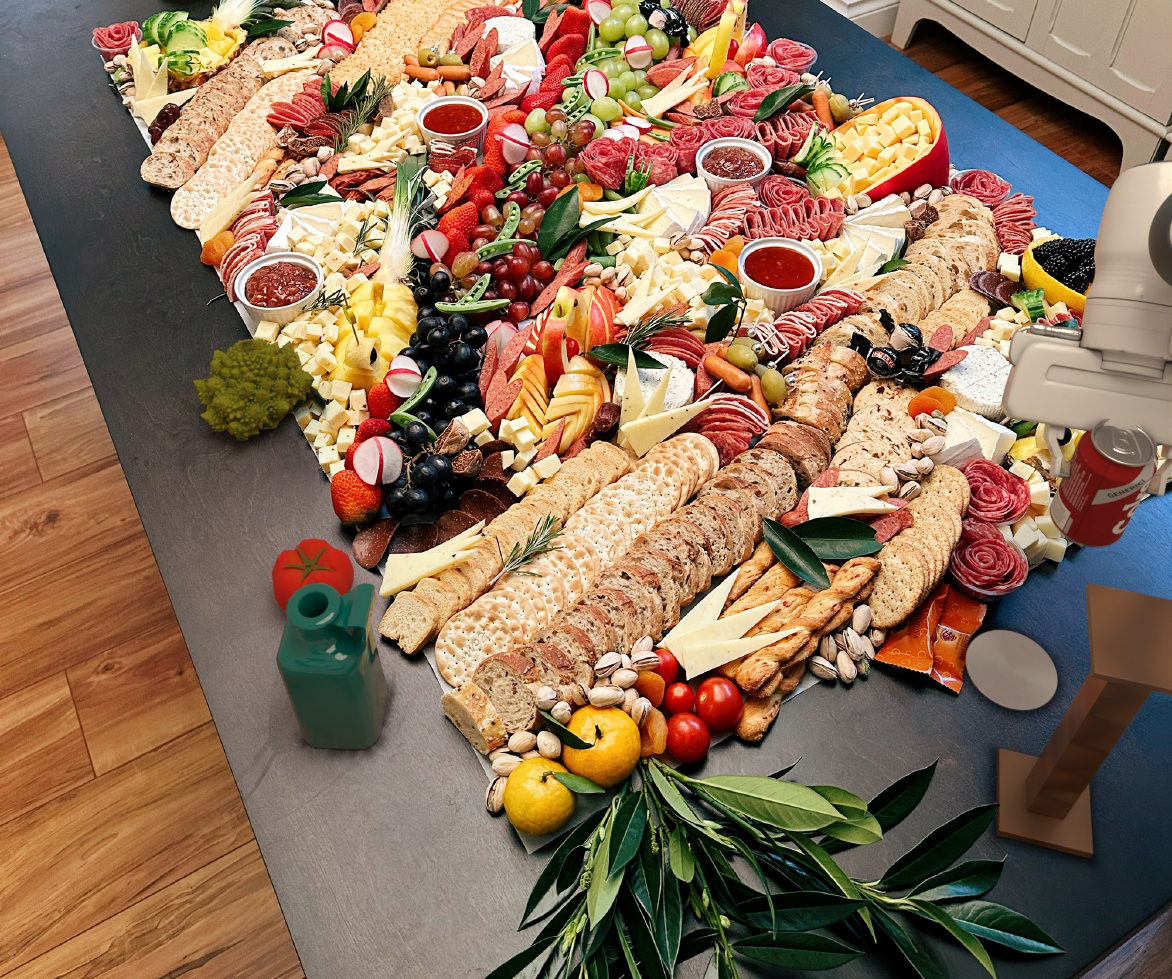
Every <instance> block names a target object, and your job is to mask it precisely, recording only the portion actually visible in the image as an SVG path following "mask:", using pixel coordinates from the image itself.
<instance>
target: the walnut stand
mask: <svg viewBox="0 0 1172 979" xmlns="http://www.w3.org/2000/svg"><path fill="white" fill-rule="evenodd" d="M1085 595H1086V598H1085V599H1086V611H1087V627H1088V641H1089V656H1090V671H1089V673H1088V675H1087V677H1086V678H1085V679H1084V681H1083V683H1082V684H1081V686H1080V688H1079V689H1078V691H1077V693H1076V695H1075V696H1074V698H1073V700H1072V701H1071V703H1070V705H1069V707H1068V708H1067V710H1066V712H1065V713H1064V715H1063V717H1062V718H1061V719H1060V722H1059V723H1058V724H1057V726H1056V728H1055V730H1054V731H1053V733H1052V734H1051V737H1050V738H1049V740H1048V741H1047V743H1046V745H1045V746H1044V748H1043V749H1042V752H1041V753H1040V754H1039V756H1035V755H1030V754H1026V753H1022V752H1019V751H1013V750H1009V749H1005V748H1001V747H999V749H998V750H997V752H996V804H997V803H998V804H1000V807H998V811H997V810H996V836H999V837H1001V838H1007V839H1010V840H1013V841H1014V840H1015V841H1017V842H1018V841H1019V842H1021V843H1026V844H1030V845H1035V846H1038V847H1043V848H1046V849H1050V850H1054V851H1058V852H1061V853H1062V852H1063V853H1065V854H1070V855H1074V856H1079V857H1082V858H1085V859H1086V858H1087V859H1091V858H1092V856H1093V855H1094V843H1093V842H1094V841H1093V827H1092V826H1093V825H1092V824H1093V823H1092V810H1091V809H1092V808H1091V807H1092V806H1091V791H1090V782H1091V781H1092V780H1093V779H1094V777H1095V775H1096V774H1097V772H1098V771H1099V769H1100V768H1101V766H1102V765H1103V764H1104V762H1105V761H1106V759H1107V758H1108V757H1109V755H1110V754H1111V752H1112V751H1113V750H1114V748H1115V747H1116V745H1117V743H1118V742H1119V741H1120V739H1121V737H1122V736H1123V735H1124V733H1125V732H1126V731H1127V729H1128V727H1129V726H1130V725H1131V723H1132V722H1133V720H1134V718H1135V717H1136V716H1137V714H1138V713H1139V711H1140V710H1141V708H1142V707H1143V705H1144V704H1145V702H1146V701H1147V700H1148V698H1149V697H1150V695H1151V694H1152V692H1155V693H1161V694H1165V695H1170V696H1172V599H1170V598H1165V597H1160V596H1155V595H1151V594H1146V593H1140V592H1136V591H1132V590H1127V589H1126V590H1125V589H1121V588H1116V587H1112V586H1106V585H1102V584H1098V583H1097V584H1096V583H1092V582H1088V583H1087V585H1086V586H1085Z"/></svg>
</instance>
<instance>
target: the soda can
mask: <svg viewBox="0 0 1172 979" xmlns="http://www.w3.org/2000/svg"><path fill="white" fill-rule="evenodd" d="M1108 420H1111V419H1105V420H1102V421H1100V422H1098V423H1097V424H1096V425H1095V426H1094V428H1093V430H1091V431H1084V433H1082V435H1081V436H1080V438H1079V440H1078V442H1077V444H1076V447H1075V449H1074V451H1073V453H1072V456H1071V458H1070V460H1072V468H1071V469H1070V472H1071V474H1070V478H1069V479H1065V478H1061V480H1060V482H1059V484H1058V487H1057V489H1056V491H1055V493H1054V496H1053V497H1052V499H1051V502H1050V505H1049V516H1050V519H1051V521H1052V523H1053V525H1054V527H1055V528H1056V529H1057V530H1058V532H1060V534H1062V535H1063V536H1064V537H1065V538H1066V539H1068V540H1070V541H1071V542H1074V543H1075V544H1078V545H1081V546H1083V547H1088V548H1107V547H1109V546H1112V545H1114V544H1116V543H1117V542H1118V541H1119V540H1120V539H1121V538H1122V536H1123V535H1124V533H1125V531H1126V529H1127V528H1128V525H1129V524H1130V522H1131V520H1132V518H1133V516H1134V514H1135V512H1136V511H1137V508H1138V507H1139V505H1140V503H1141V501H1142V499H1143V498H1144V496H1145V494H1146V493H1145V492H1146V490H1147V488H1148V486H1149V484H1150V483H1151V481H1152V479H1153V477H1154V475H1155V473H1156V471H1157V470H1158V469H1159V459H1158V456H1157V453H1158V444H1156V441H1155V439H1154V438H1153V436H1152V435H1151V434H1150V433H1149V432H1148V431H1147V430H1146V429H1144V428H1143V427H1142V426H1140V425H1138V424H1135V425H1136V426H1137V427H1138V429H1137V430H1138V431H1136V430H1131V429H1127V430H1122V429H1117V428H1116V427H1114V426H1108V425H1105V426H1104V424H1105V422H1106V421H1108Z"/></svg>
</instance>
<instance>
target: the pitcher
mask: <svg viewBox="0 0 1172 979" xmlns="http://www.w3.org/2000/svg"><path fill="white" fill-rule="evenodd" d="M375 606H376V586H375V584H372V583H370V582H364V583H359V584H357V585H356V586H355V587H354V588H353V589H352V590H350V591H348V593H346V594H344V595H341V596H340V594H339V593H338V592H337V590H336V589H335V588H334V587H332V586H330V585H327V584H325V583H312V584H309V585H305V586H303V587H301V588H300V589H298V590H297V591H295V592H294V593H293V595H292V596H291V597H290V599H289V600H288V603H287V607H286V610H285V611H286V613H285V616H286V620H285V624H284V627H283V632H282V634H281V638H280V643H279V646H278V650H277V654H276V658H275V661H276V667H277V670H278V673H279V675H280V678H281V680H282V683H283V686H284V689H285V691H286V694H287V697H288V700H289V702H290V705H291V707H292V709H293V710H292V711H293V713H294V715H295V718H296V721H297V723H298V726H299V729H300V731H301V735H302V736H303V739H304V740H305V742H306V743H307V744H308V745H309V746H310V747H313V748H317V749H319V748H320V749H341V750H364V749H368V748H370V747H371V746H373V745H374V744H376V742H377V741H378V739H379V738H380V736H381V733H382V728H383V723H384V718H385V712H386V708H387V707H386V706H387V702H388V697H389V689H388V685H387V681H386V677H385V672H384V668H383V665H382V660H381V658H380V657H381V656H380V652H379V648H378V645H377V642H376V636H375V633H374V629H373V625H372V619H373V616H374V610H375Z"/></svg>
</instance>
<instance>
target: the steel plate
mask: <svg viewBox="0 0 1172 979" xmlns="http://www.w3.org/2000/svg"><path fill="white" fill-rule="evenodd" d="M964 662H965V664H964V666H965V670H966V673H967V676H968V678H969V680H970V682H971V683H972V686H974V688H975V689H976V691H978V693H979V694H981V696H982V697H984V698H985V699H986V700H988V701H990V702H991V703H992V704H994V705H996V706H998V707H1001V708H1003V709H1005V710H1009V711H1015V712H1030V711H1031V712H1032V711H1035V710H1038V709H1041V708H1043V707H1045V706H1046V705H1047V704H1048V703H1049V702H1050V701H1051V700H1052V698H1053V697H1054V695H1055V693H1056V691H1057V688H1058V682H1059V681H1058V672H1057V669H1056V666H1055V663H1054V662H1053V660H1052V658H1051V657H1050V655H1049V654H1048V653H1047V651H1045V649H1044V648H1043V647H1042V646H1041V645H1040V644H1038V643H1037V642H1036V641H1035V640H1033V639H1032V638H1029V637H1028V636H1026V635H1024V634H1022V633H1019V632H1017V631H1012V630H1006V629H993V630H988V631H985V632H983V633H981V634H979V635H978V636H976V637H975V638H974V639H973V640H972V641H971V642H970V644H969V646H968V647H967V649H966V653H965V658H964Z"/></svg>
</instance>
